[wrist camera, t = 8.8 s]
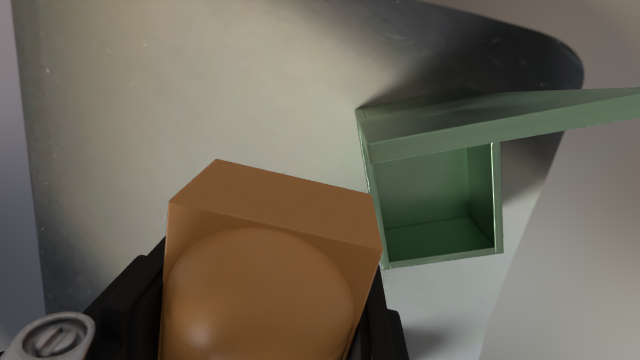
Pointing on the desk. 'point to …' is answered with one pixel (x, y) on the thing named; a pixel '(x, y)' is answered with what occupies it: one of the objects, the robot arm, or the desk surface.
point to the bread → (265, 267)
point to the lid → (492, 120)
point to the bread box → (436, 196)
